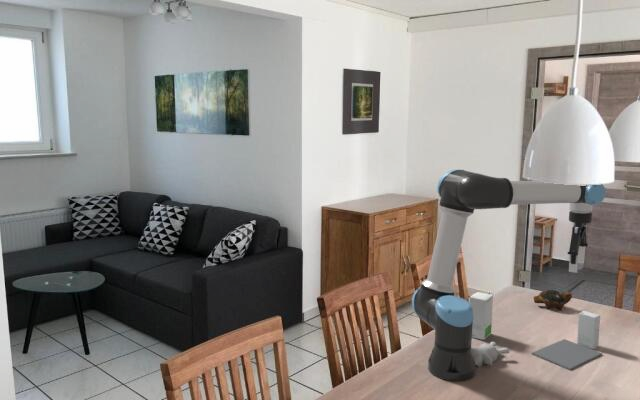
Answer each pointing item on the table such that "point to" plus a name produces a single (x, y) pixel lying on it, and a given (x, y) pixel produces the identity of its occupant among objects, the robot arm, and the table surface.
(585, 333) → the skincare box
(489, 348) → the bunny figurine
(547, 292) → the decorative turtle
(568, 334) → the table surface
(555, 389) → the table surface
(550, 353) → the mat
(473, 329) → the skincare box
